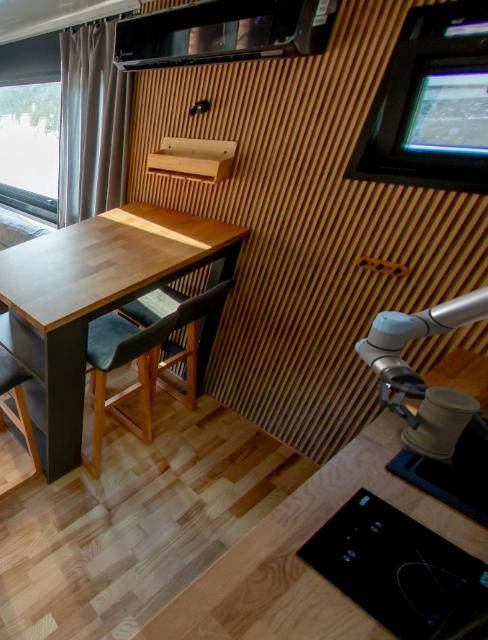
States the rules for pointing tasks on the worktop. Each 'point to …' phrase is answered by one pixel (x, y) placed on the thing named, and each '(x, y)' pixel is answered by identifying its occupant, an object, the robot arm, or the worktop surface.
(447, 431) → the container
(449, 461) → the base pad
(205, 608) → the worktop surface
